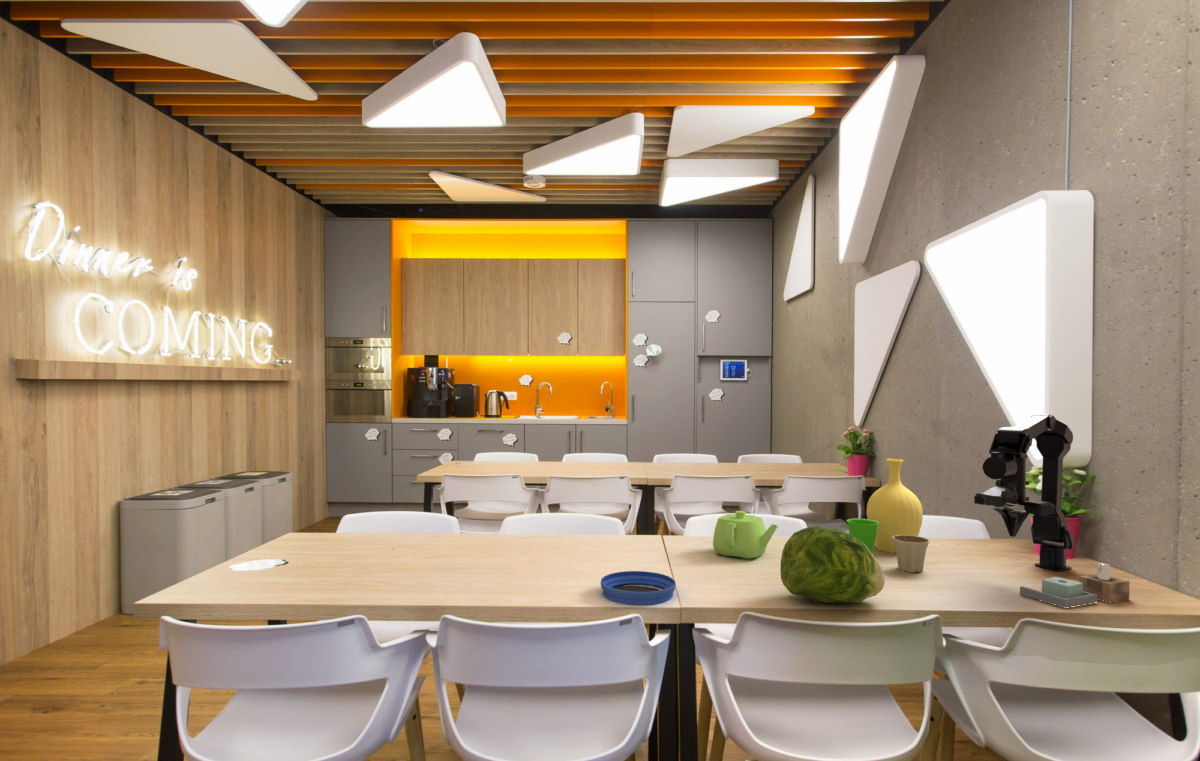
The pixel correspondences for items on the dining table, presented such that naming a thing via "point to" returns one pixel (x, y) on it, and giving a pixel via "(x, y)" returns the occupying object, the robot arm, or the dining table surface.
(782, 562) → the lettuce
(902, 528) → the vase
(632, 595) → the bowl
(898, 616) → the dining table surface
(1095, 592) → the block
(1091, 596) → the grey u-shaped bracket
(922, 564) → the flower pot
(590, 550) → the dining table surface
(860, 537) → the cup
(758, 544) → the teapot
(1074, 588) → the block
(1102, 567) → the cylinder
